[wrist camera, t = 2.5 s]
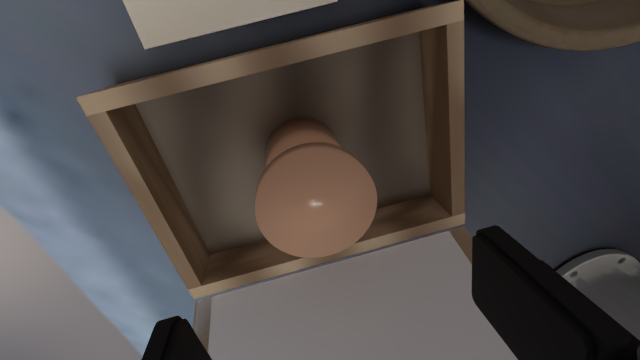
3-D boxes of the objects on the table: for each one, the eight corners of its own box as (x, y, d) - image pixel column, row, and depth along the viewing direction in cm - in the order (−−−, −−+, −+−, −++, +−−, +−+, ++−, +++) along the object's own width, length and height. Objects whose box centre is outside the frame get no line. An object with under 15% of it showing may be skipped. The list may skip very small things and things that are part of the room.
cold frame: (425, 6, 20) (463, -1, 16) (436, 195, 27) (465, 223, 23) (115, 84, 20) (75, 97, 16) (205, 259, 26) (193, 299, 22)
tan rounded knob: (334, 101, 21) (367, 135, 14) (350, 179, 24) (384, 240, 17) (248, 124, 21) (236, 170, 14) (273, 199, 24) (275, 270, 17)
